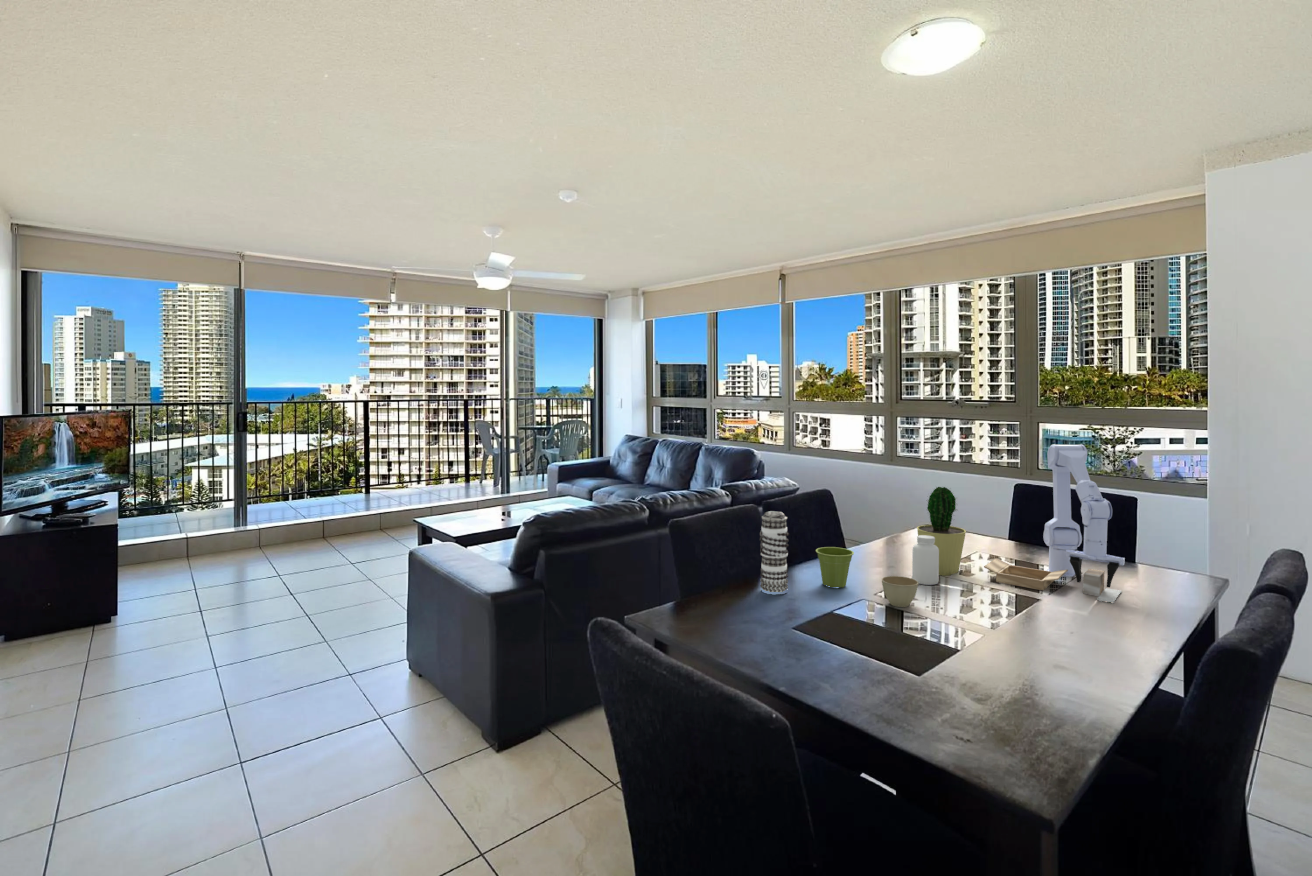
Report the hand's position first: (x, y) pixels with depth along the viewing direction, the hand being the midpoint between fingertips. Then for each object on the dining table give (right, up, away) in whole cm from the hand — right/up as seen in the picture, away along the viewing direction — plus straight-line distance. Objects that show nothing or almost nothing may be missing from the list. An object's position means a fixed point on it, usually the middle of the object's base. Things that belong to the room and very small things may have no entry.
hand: (1093, 584), depth 189 cm
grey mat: (0, -3, 0) cm, 3 cm away
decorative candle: (-96, -4, +6) cm, 96 cm away
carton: (-14, -2, +11) cm, 18 cm away
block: (0, -2, 0) cm, 2 cm away
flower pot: (-62, -4, -7) cm, 63 cm away
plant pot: (-76, -3, +11) cm, 77 cm away
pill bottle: (-45, -3, +14) cm, 48 cm away
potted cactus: (-35, -2, +26) cm, 44 cm away
